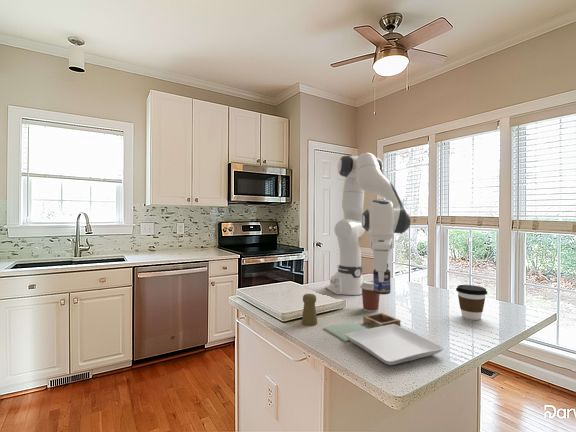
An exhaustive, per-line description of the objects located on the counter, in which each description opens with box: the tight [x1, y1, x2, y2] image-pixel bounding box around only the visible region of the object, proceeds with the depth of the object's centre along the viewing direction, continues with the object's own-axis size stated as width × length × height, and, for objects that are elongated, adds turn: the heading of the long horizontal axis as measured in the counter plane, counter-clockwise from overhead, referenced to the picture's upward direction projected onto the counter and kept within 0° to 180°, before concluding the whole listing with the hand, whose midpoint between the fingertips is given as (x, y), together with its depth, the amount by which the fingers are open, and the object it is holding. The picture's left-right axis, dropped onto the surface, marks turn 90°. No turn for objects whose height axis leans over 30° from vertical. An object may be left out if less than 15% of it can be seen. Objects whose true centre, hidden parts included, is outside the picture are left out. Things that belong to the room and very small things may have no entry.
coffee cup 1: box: [360, 279, 381, 313], centre depth 135 cm, size 9×9×12 cm
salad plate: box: [345, 324, 444, 366], centre depth 96 cm, size 21×21×3 cm
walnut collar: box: [362, 312, 401, 328], centre depth 116 cm, size 9×9×2 cm
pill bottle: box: [372, 262, 392, 295], centre depth 116 cm, size 6×6×11 cm
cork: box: [301, 293, 318, 327], centre depth 118 cm, size 6×6×11 cm
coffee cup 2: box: [455, 284, 488, 321], centre depth 124 cm, size 11×11×12 cm
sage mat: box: [323, 321, 368, 343], centre depth 110 cm, size 13×13×1 cm
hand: (381, 279), depth 116 cm, fingers closed on pill bottle, 6 cm apart
